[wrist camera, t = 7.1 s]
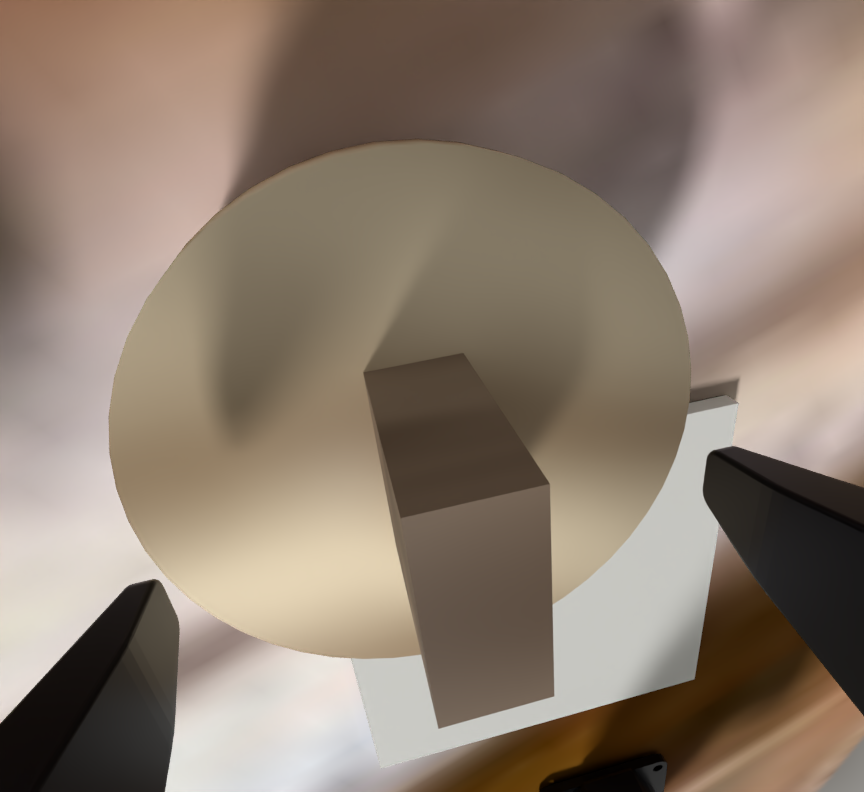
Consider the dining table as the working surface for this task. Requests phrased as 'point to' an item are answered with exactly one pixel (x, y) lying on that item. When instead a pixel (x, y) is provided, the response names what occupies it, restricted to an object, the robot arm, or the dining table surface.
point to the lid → (402, 410)
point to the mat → (590, 618)
